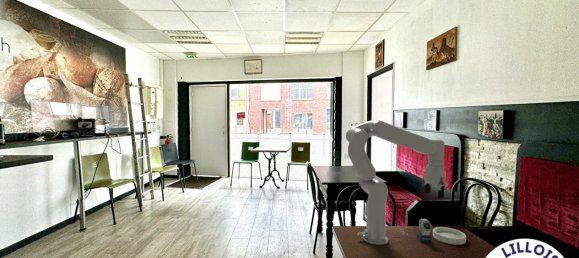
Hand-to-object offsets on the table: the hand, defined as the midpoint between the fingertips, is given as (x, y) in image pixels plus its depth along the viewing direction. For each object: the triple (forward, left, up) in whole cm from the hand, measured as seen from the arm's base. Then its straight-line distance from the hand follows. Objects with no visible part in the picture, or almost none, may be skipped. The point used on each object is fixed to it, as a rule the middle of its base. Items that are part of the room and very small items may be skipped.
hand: (433, 195), depth 146 cm
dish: (+9, -2, -23) cm, 25 cm away
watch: (-6, -2, -23) cm, 24 cm away
